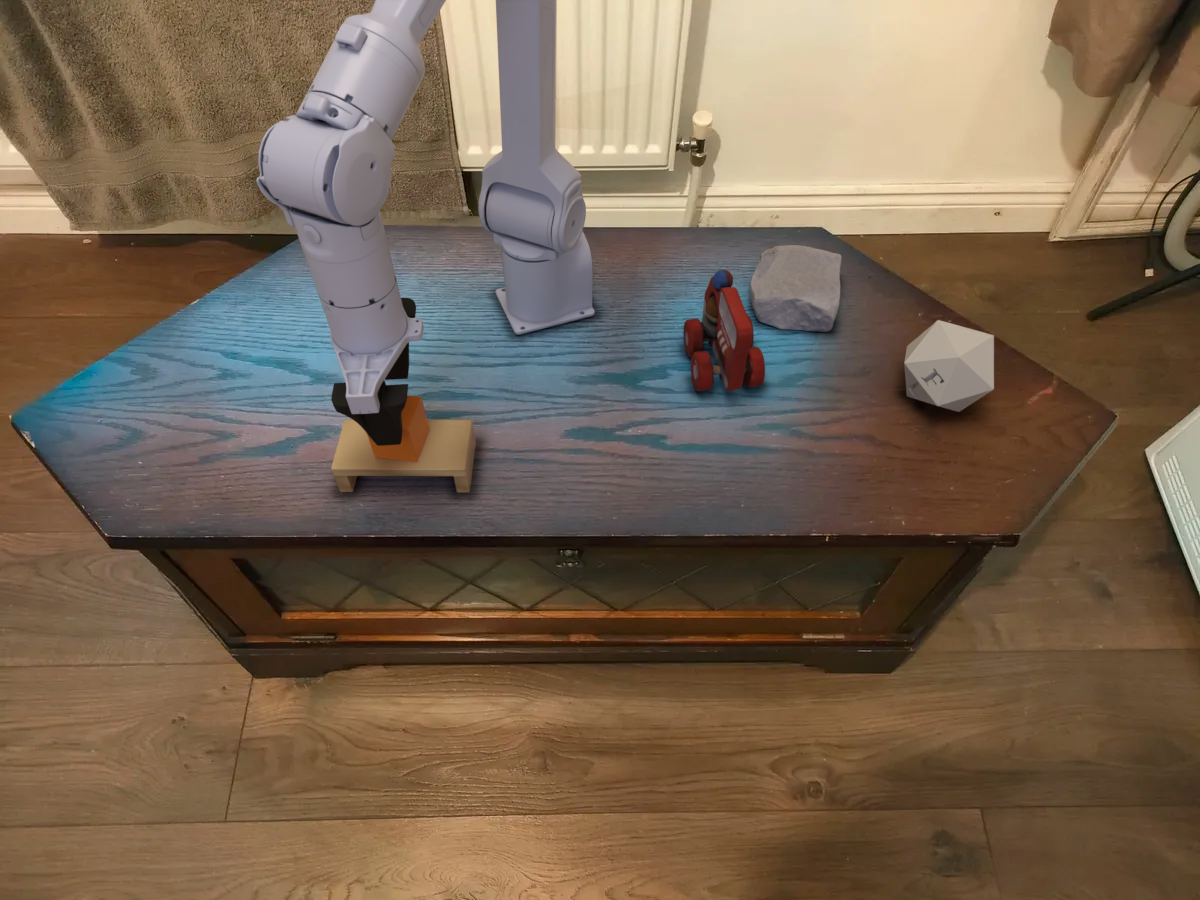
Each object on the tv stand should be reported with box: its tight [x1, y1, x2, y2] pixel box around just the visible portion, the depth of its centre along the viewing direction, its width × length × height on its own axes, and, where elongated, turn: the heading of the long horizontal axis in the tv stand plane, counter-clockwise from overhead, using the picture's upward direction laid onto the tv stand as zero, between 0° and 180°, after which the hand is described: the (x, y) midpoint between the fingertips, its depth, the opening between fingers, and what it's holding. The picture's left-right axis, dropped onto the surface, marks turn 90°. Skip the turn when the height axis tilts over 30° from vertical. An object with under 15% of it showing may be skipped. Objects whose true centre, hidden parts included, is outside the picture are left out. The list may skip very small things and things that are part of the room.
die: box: [903, 319, 995, 413], centre depth 78 cm, size 8×9×10 cm
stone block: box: [749, 244, 842, 333], centre depth 89 cm, size 12×5×10 cm
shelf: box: [330, 418, 477, 493], centre depth 72 cm, size 12×6×4 cm, turn 90°
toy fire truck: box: [683, 269, 766, 392], centre depth 79 cm, size 7×12×10 cm, turn 6°
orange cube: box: [367, 394, 429, 462], centre depth 69 cm, size 4×4×4 cm
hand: (393, 408), depth 67 cm, fingers open, 7 cm apart
